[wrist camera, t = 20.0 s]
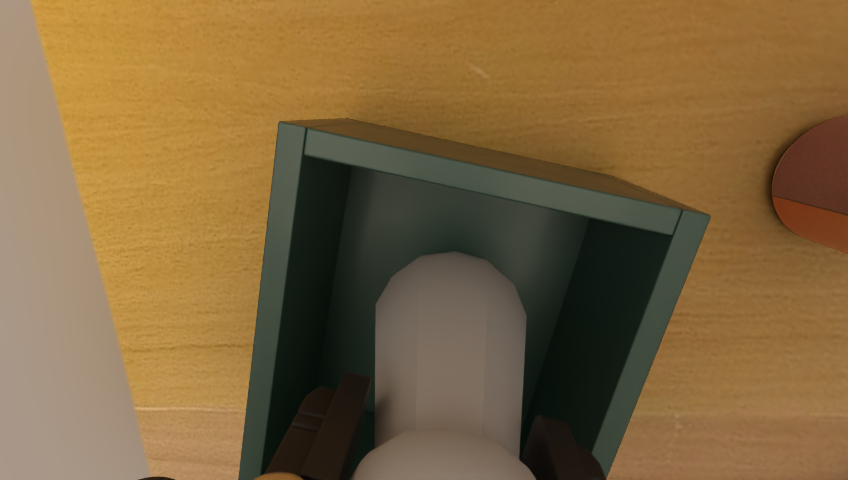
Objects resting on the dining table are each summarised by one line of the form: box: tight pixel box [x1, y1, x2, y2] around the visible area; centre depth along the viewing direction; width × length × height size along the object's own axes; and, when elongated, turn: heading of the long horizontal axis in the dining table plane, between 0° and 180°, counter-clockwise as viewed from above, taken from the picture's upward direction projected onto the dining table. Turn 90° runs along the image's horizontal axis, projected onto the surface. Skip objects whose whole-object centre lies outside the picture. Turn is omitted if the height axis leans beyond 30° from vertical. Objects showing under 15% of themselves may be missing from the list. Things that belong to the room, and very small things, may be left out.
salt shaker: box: [349, 251, 536, 480], centre depth 13 cm, size 6×6×13 cm
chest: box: [238, 118, 711, 480], centre depth 21 cm, size 17×14×9 cm
